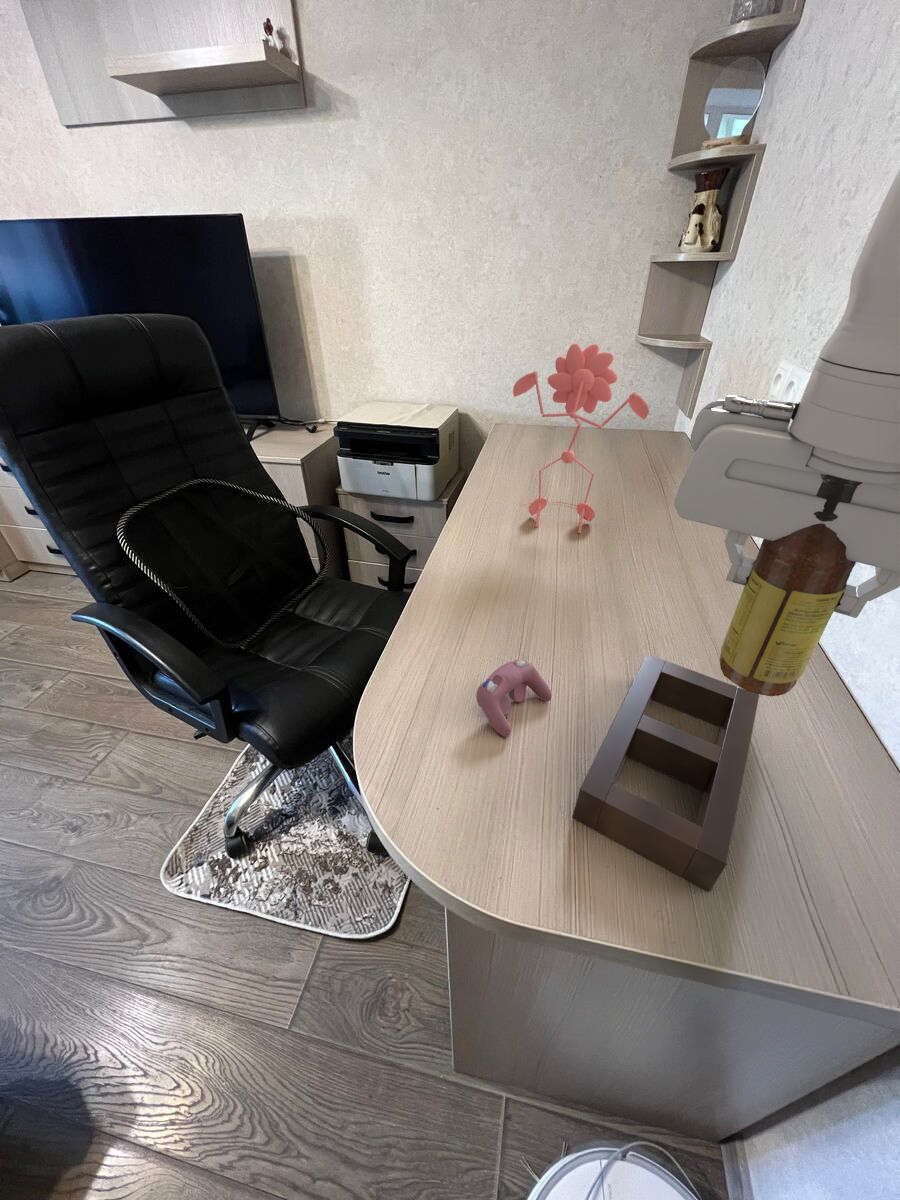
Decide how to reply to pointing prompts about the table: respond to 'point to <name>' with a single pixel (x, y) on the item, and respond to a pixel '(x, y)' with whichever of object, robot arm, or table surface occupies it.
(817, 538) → the sauce bottle
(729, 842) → the hole block
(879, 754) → the table surface
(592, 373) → the flower sculpture
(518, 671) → the video game controller
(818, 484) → the robot arm
